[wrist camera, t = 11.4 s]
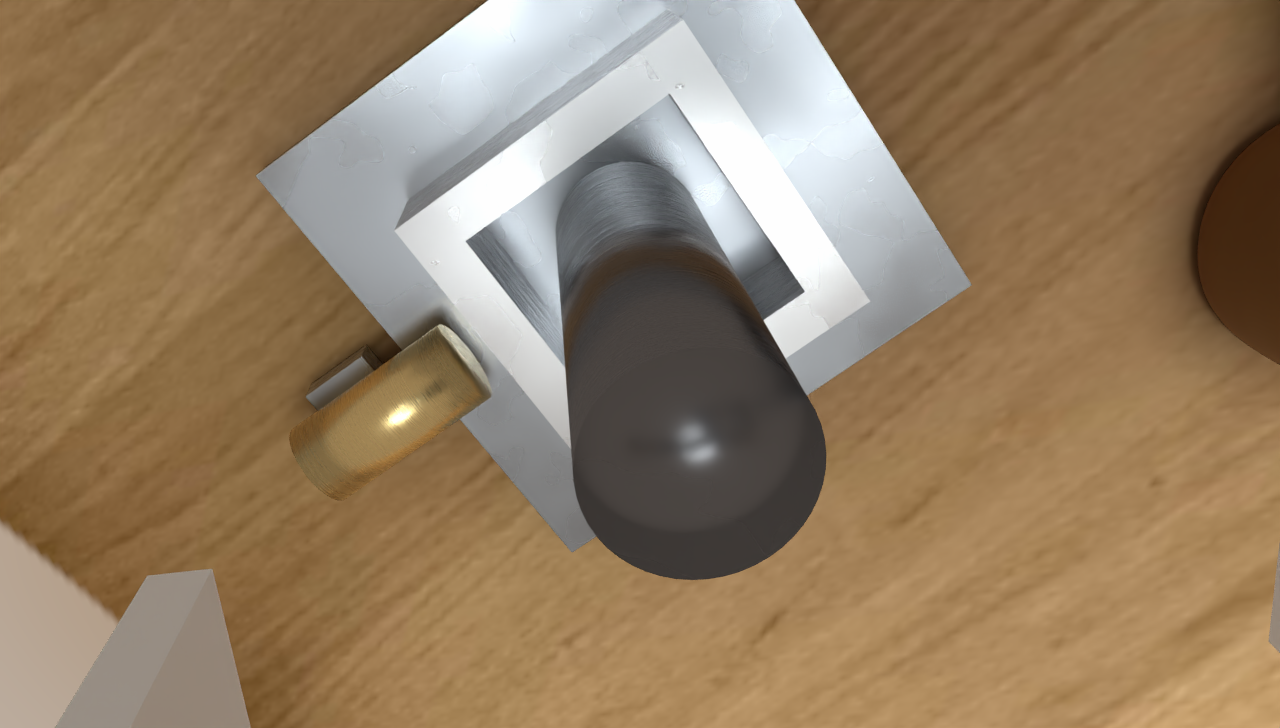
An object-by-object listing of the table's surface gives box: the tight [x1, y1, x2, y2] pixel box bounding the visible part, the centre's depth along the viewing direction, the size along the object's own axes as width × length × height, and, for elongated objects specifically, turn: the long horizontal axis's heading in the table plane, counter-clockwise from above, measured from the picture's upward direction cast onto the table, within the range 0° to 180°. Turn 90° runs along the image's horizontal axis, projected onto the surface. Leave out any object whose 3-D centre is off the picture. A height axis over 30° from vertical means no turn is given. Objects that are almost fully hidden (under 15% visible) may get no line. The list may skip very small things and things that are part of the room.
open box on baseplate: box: [256, 0, 971, 552], centre depth 32 cm, size 18×14×4 cm
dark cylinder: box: [556, 162, 826, 580], centre depth 26 cm, size 4×4×15 cm
